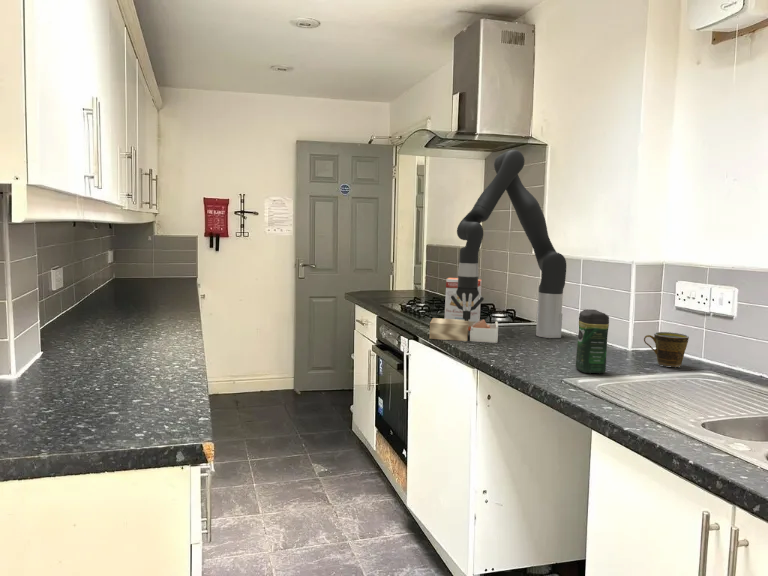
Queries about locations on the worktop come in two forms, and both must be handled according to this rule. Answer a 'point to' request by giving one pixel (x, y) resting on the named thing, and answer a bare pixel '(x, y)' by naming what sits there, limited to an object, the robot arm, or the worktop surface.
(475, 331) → the bin
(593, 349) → the coffee jar
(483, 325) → the tile
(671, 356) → the ceramic cup
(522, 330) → the worktop surface
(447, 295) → the cracker box
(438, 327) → the platform
